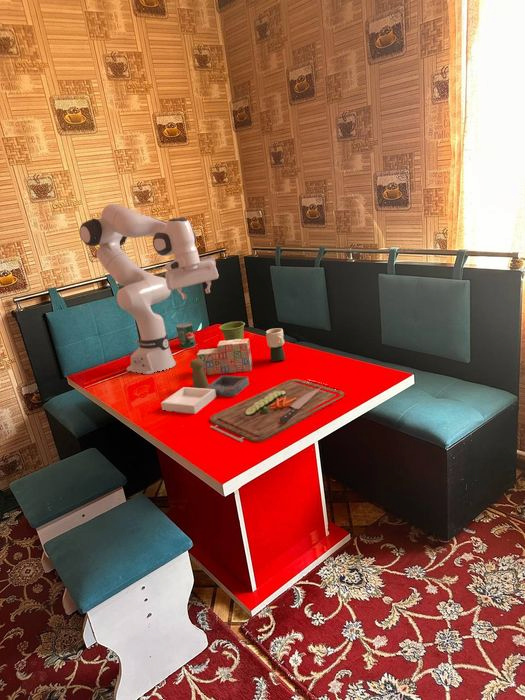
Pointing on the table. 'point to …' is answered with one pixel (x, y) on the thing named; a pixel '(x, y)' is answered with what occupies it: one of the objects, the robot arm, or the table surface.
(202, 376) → the cork
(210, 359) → the stack of blocks
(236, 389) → the grey square shallow box
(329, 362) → the table surface
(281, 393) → the chopping board
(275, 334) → the character mug
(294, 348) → the table surface
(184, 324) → the canned tomato
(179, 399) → the tray
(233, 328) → the plant pot
